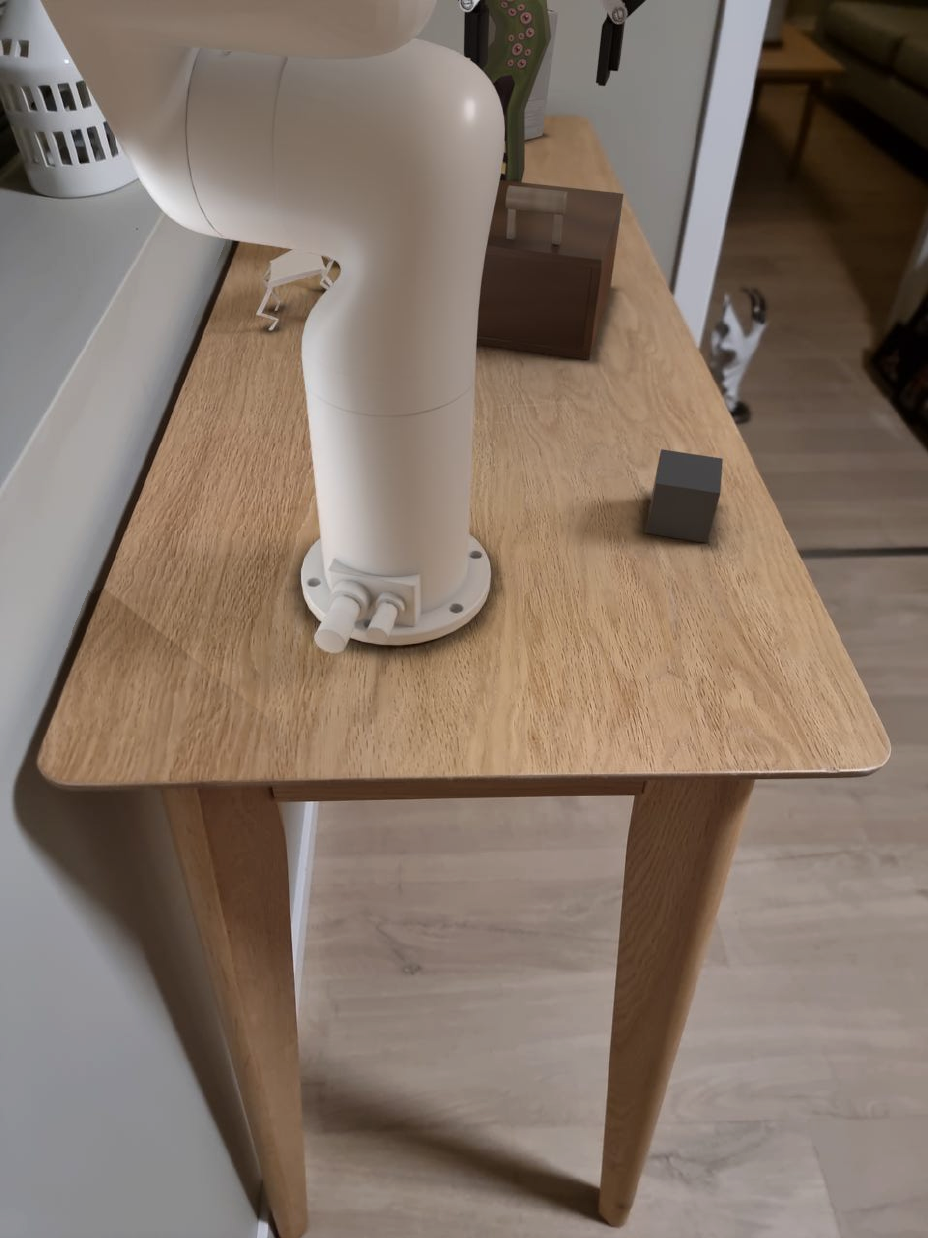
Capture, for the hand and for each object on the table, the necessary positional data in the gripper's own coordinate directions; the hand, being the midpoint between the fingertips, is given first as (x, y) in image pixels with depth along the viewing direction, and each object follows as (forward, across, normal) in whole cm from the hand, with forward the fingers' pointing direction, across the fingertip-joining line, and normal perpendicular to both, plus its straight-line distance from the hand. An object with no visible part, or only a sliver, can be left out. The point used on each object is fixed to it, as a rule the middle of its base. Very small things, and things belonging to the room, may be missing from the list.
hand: (540, 74), depth 70 cm
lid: (+14, 0, +7) cm, 16 cm away
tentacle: (+23, -10, +28) cm, 38 cm away
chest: (+23, 0, +7) cm, 24 cm away
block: (+22, +16, -23) cm, 36 cm away
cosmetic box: (+24, -14, +63) cm, 69 cm away
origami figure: (+23, -22, +2) cm, 32 cm away
